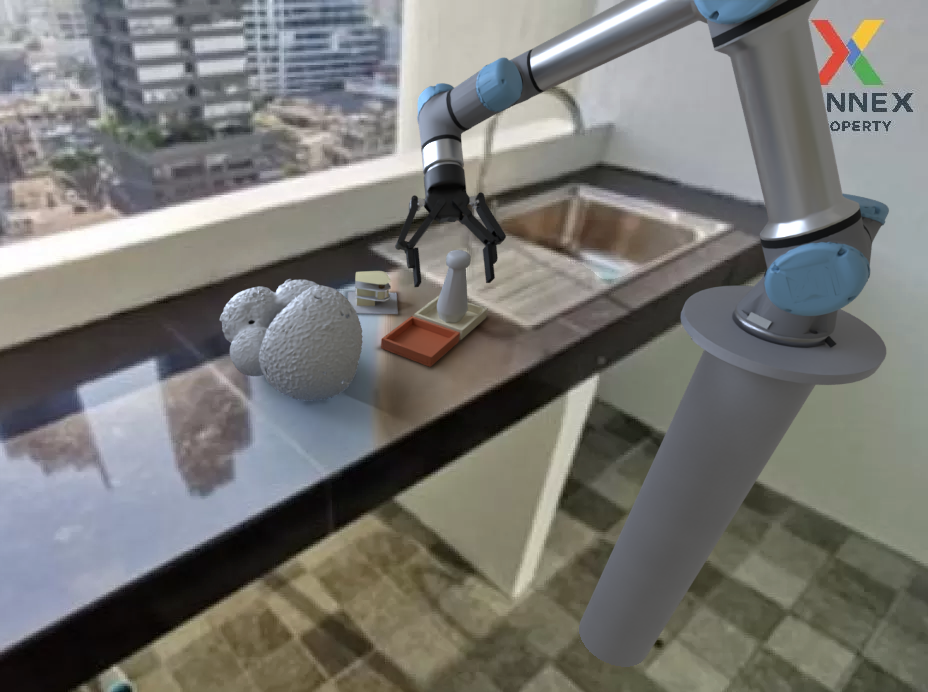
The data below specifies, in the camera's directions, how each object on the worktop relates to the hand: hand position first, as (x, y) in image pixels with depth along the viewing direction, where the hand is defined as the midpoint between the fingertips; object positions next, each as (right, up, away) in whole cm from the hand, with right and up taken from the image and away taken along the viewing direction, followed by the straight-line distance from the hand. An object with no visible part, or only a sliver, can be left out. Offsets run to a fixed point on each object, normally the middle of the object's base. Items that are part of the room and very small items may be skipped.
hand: (454, 283), depth 111 cm
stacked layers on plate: (-14, -2, +10) cm, 18 cm away
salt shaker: (0, -6, +4) cm, 7 cm away
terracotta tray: (-7, -12, -2) cm, 14 cm away
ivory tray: (0, -6, +5) cm, 8 cm away
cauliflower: (-28, -19, -9) cm, 35 cm away
